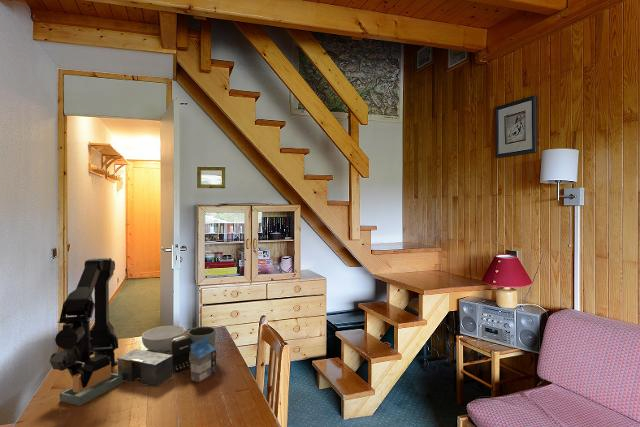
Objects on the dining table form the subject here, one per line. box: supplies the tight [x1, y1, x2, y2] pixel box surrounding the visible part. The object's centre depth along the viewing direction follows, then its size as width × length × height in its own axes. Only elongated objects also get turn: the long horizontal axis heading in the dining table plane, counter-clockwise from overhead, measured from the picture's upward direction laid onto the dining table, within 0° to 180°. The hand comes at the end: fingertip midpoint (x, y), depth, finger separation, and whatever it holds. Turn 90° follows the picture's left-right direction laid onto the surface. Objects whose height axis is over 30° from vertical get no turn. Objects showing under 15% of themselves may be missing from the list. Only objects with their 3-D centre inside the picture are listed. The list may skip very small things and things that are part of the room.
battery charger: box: [169, 335, 191, 373], centre depth 147 cm, size 7×4×11 cm, turn 139°
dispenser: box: [116, 348, 174, 388], centre depth 140 cm, size 16×8×8 cm, turn 70°
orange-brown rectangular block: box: [71, 362, 112, 393], centre depth 131 cm, size 2×12×5 cm, turn 160°
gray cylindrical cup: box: [187, 325, 216, 365], centre depth 153 cm, size 10×10×12 cm
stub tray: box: [59, 372, 124, 407], centre depth 131 cm, size 8×16×2 cm, turn 160°
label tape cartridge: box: [190, 337, 217, 383], centre depth 141 cm, size 9×4×12 cm, turn 155°
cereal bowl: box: [141, 325, 187, 353], centre depth 167 cm, size 17×17×7 cm
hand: (81, 386), depth 127 cm, fingers closed on orange-brown rectangular block, 2 cm apart
